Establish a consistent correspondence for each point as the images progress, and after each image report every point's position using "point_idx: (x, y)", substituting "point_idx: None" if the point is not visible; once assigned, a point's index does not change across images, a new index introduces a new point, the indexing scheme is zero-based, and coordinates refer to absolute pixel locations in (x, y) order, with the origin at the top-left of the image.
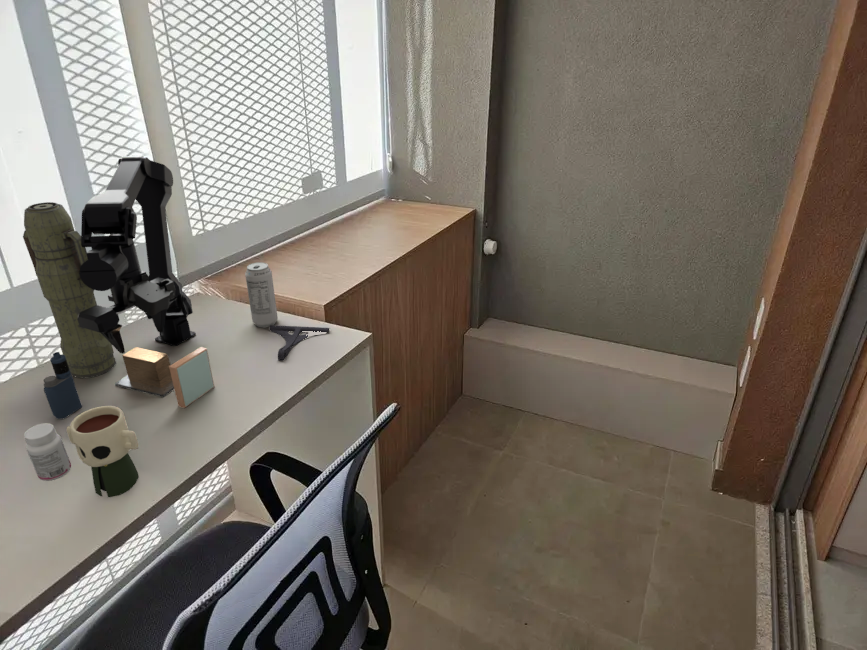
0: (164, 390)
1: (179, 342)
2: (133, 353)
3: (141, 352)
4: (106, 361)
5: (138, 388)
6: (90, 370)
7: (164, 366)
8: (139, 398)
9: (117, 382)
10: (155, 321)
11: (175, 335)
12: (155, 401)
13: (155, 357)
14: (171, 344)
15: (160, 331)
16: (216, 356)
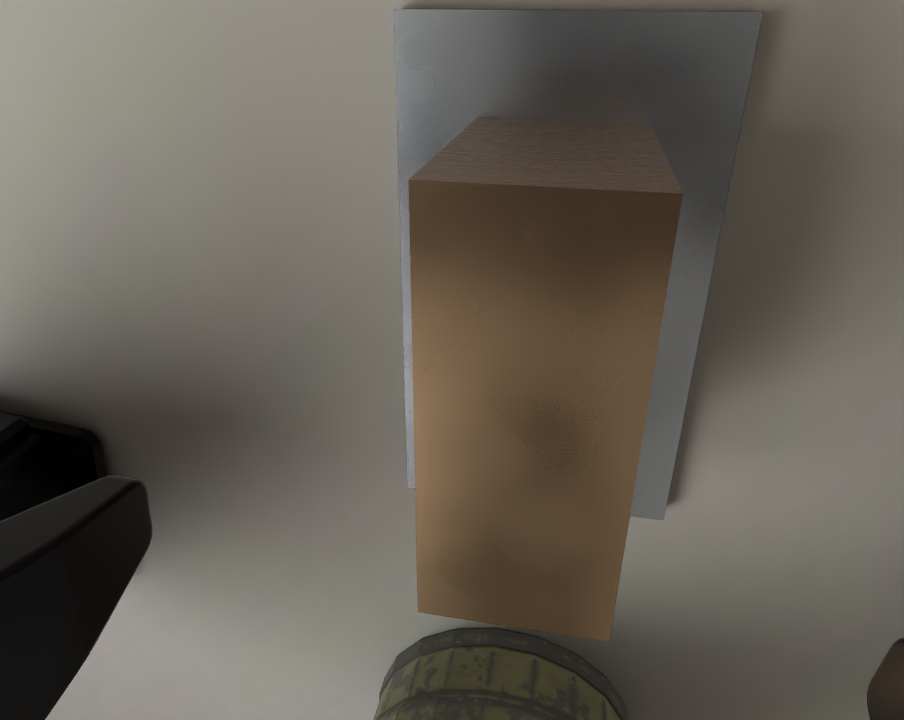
0: (684, 57)
1: (53, 428)
2: (540, 567)
3: (492, 506)
4: (496, 692)
5: (698, 317)
6: (598, 717)
7: (535, 153)
8: (812, 227)
9: (650, 509)
10: (18, 699)
11: (18, 483)
12: (848, 37)
13: (550, 277)
14: (101, 463)
15: (136, 504)
16: (3, 17)
